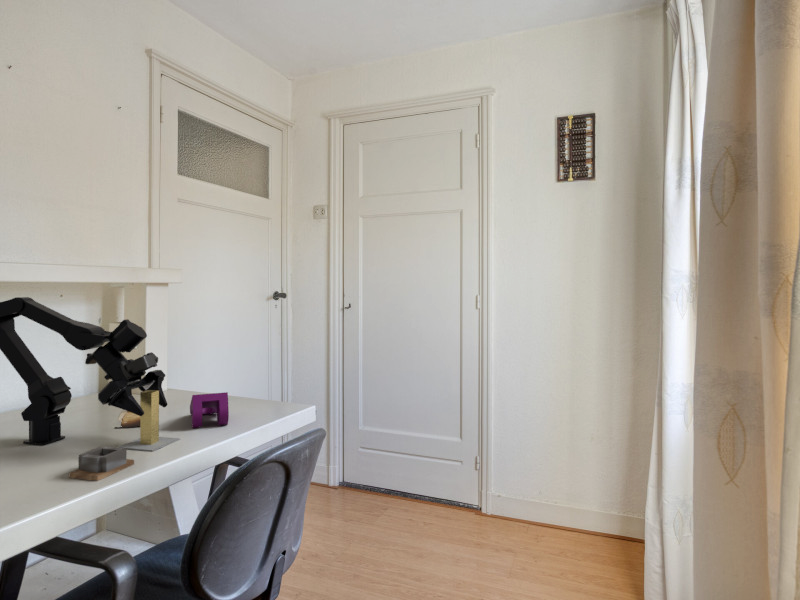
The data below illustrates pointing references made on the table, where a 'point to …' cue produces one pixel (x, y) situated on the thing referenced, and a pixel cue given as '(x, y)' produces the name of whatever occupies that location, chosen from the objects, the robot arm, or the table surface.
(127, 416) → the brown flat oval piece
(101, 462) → the grey block holder
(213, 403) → the mounting bracket
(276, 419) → the table surface
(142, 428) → the yellow rectangular block
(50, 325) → the robot arm
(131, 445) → the felt pad
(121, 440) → the table surface
